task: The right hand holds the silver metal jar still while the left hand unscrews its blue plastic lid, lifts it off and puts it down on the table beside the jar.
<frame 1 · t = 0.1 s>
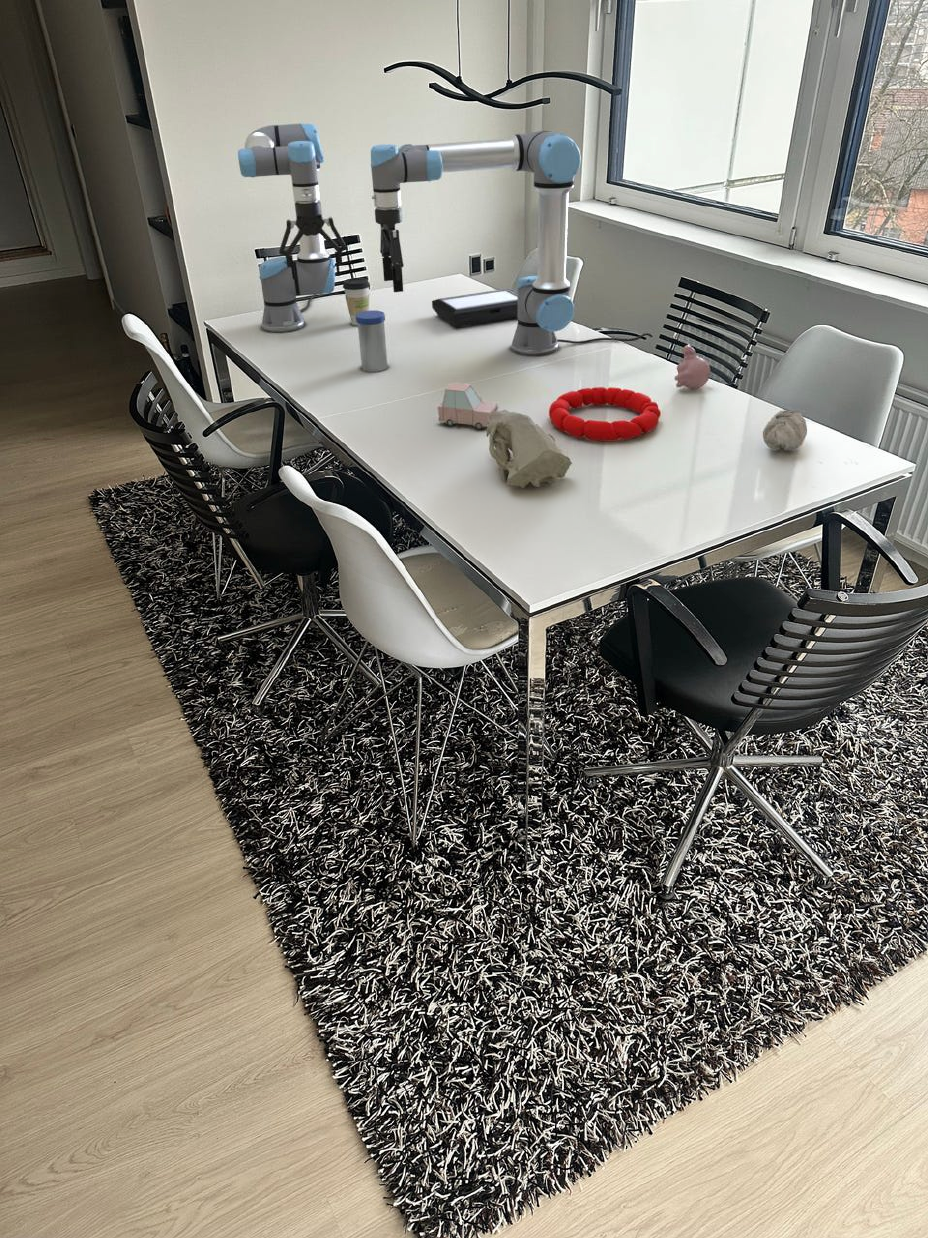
left hand: (316, 276, 273), 28 cm above the table, tool pointing down, fingers open, 13 cm apart
right hand: (393, 285, 261), 28 cm above the table, tool pointing down, fingers open, 13 cm apart
jar: (374, 367, 286), on the table
grey rock: (520, 470, 220), on the table
grey rounded lump: (783, 449, 226), on the table
coffee cup: (360, 323, 327), on the table
toy car: (468, 423, 246), on the table
electronic device: (482, 316, 330), on the table
decorative ring: (603, 422, 244), on the table
lid: (370, 315, 277), point 17 cm above the table, screwed on, not yet turned
figurine: (690, 388, 263), on the table
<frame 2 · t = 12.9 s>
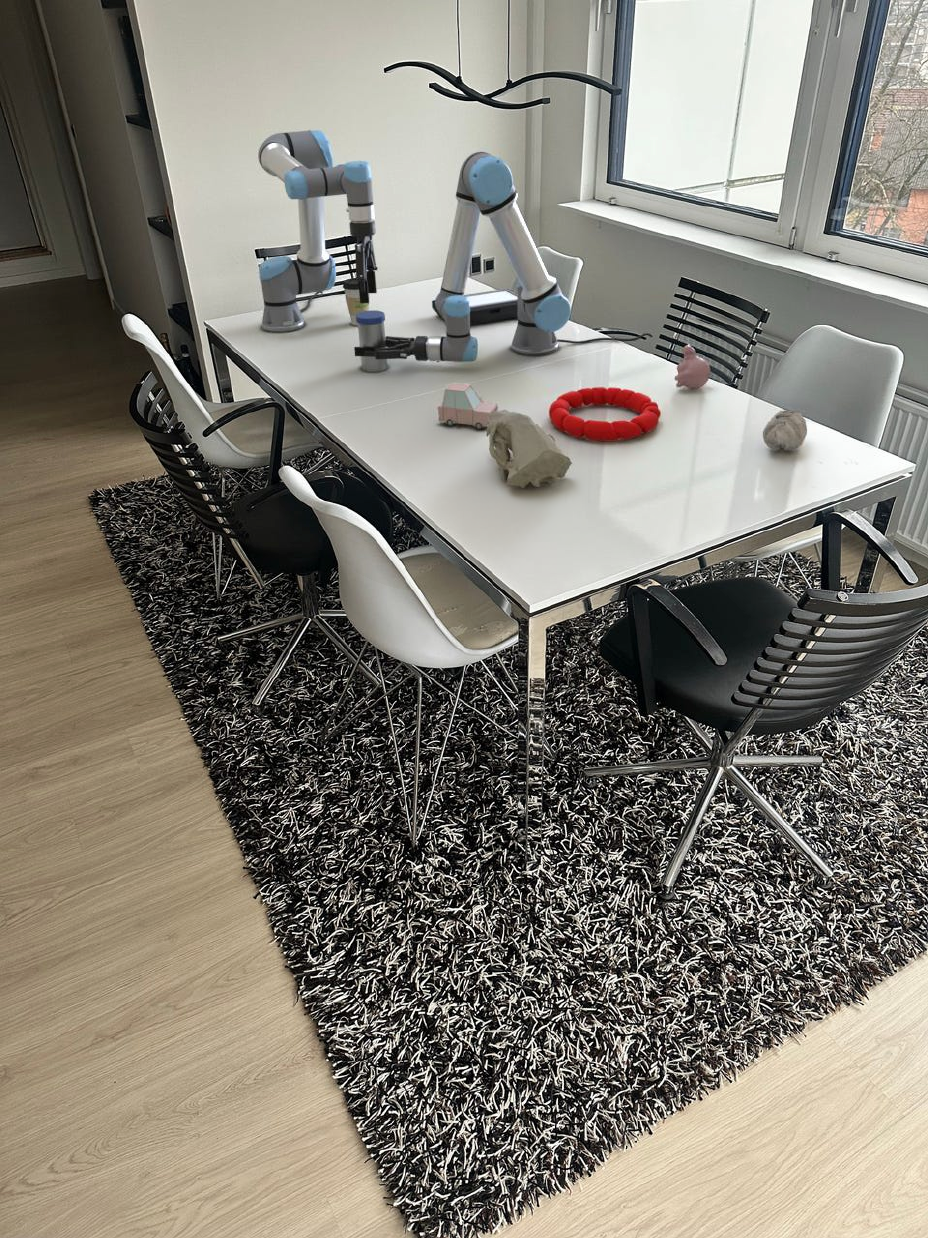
left hand: (368, 297, 274), 22 cm above the table, tool pointing down, fingers open, 11 cm apart
right hand: (358, 346, 283), 7 cm above the table, tool horizontal, fingers closed on jar, 8 cm apart
jar: (374, 367, 286), on the table, touching right hand
everything else where it was.
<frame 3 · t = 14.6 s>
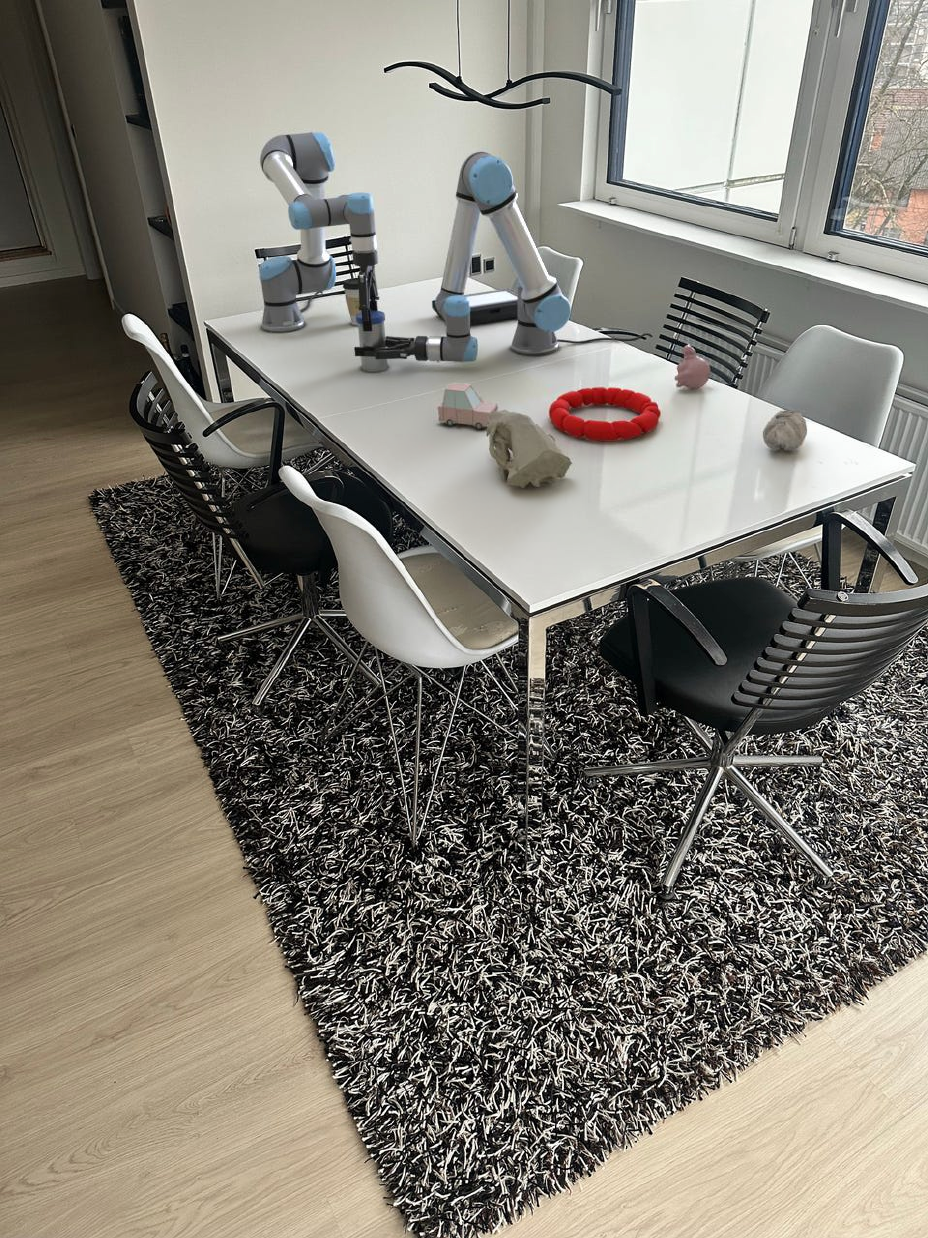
left hand: (371, 326, 279), 13 cm above the table, tool pointing down, fingers closed on lid, 9 cm apart
right hand: (358, 346, 283), 7 cm above the table, tool horizontal, fingers closed on jar, 8 cm apart
jar: (374, 367, 286), on the table, touching right hand
lid: (370, 315, 277), point 16 cm above the table, screwed on, not yet turned, touching left hand
everything else where it was.
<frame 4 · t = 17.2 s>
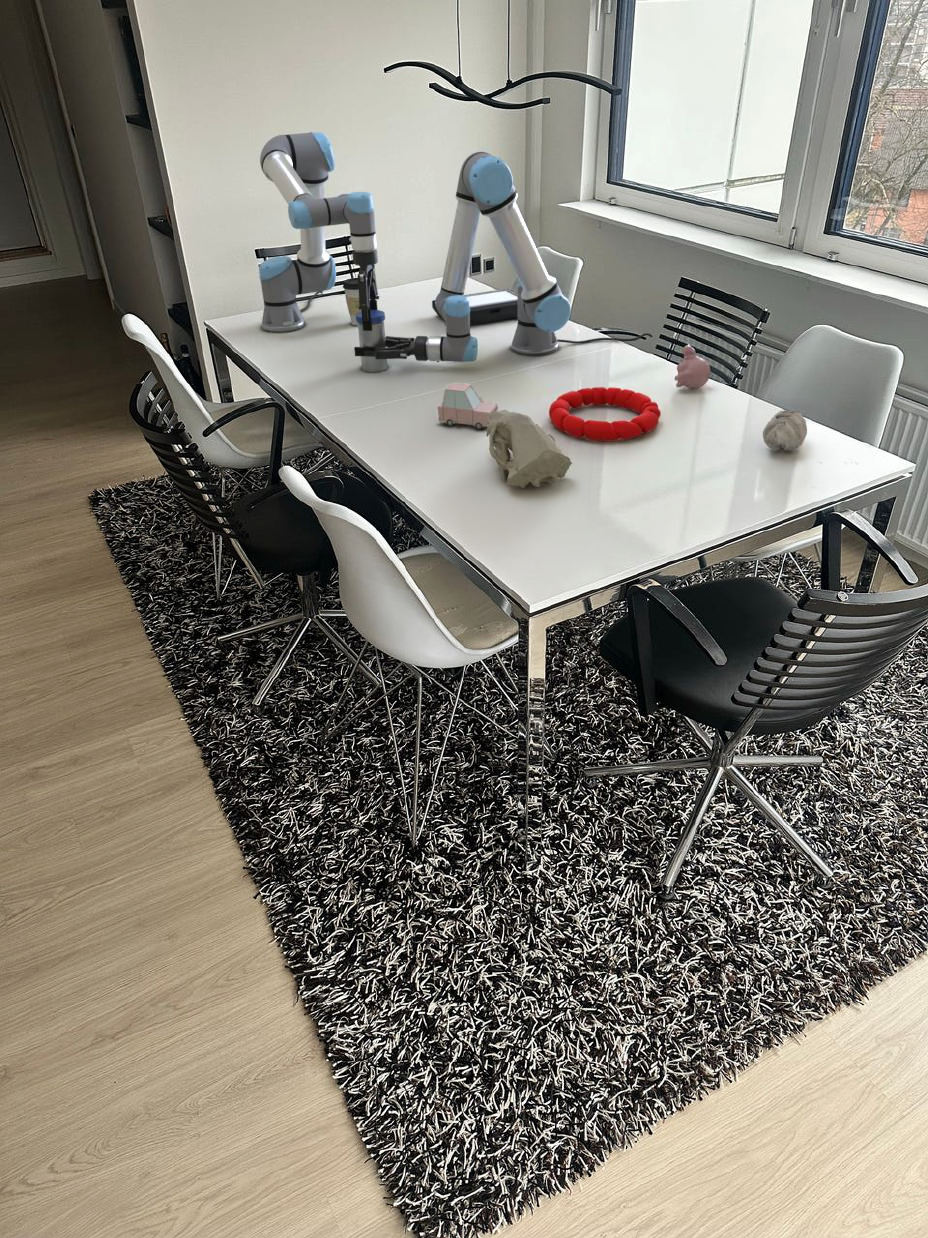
left hand: (371, 325, 279), 13 cm above the table, tool pointing down, fingers closed on lid, 9 cm apart
right hand: (358, 346, 283), 7 cm above the table, tool horizontal, fingers closed on jar, 8 cm apart
jar: (374, 367, 286), on the table, touching right hand
lid: (370, 314, 277), point 17 cm above the table, turned 65° so far, risen 0.2 cm, still on its thread, touching left hand
everything else where it was.
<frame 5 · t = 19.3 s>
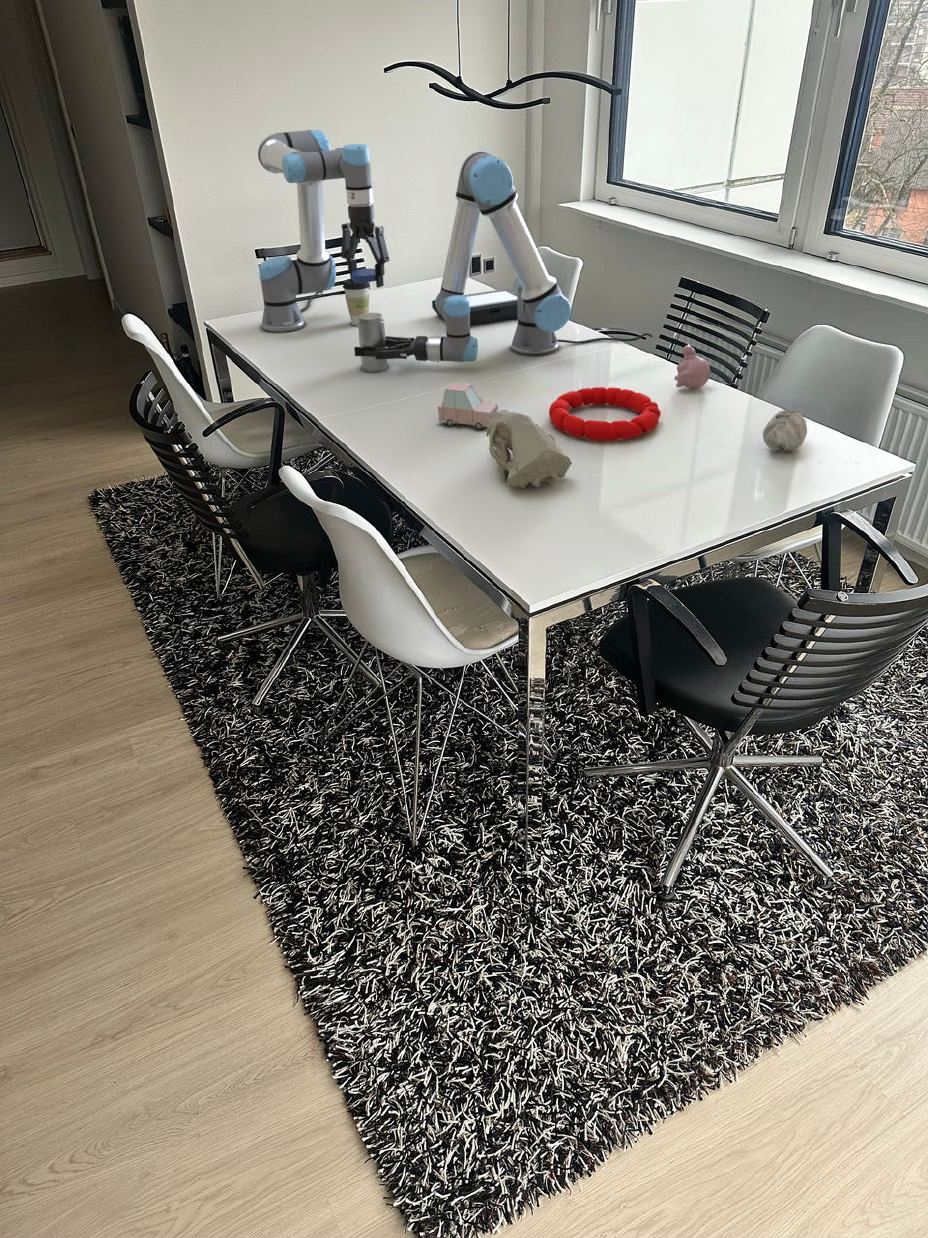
left hand: (367, 284, 272), 26 cm above the table, tool pointing down, fingers closed on lid, 9 cm apart
right hand: (358, 346, 283), 7 cm above the table, tool horizontal, fingers closed on jar, 8 cm apart
jar: (374, 367, 286), on the table, touching right hand
lid: (366, 273, 270), point 29 cm above the table, off its thread, touching left hand
everything else where it was.
when the left hand's fingers open (0 cm above the table, at t = 24.7 s): lid drops 2 cm, point 2 cm above the table.
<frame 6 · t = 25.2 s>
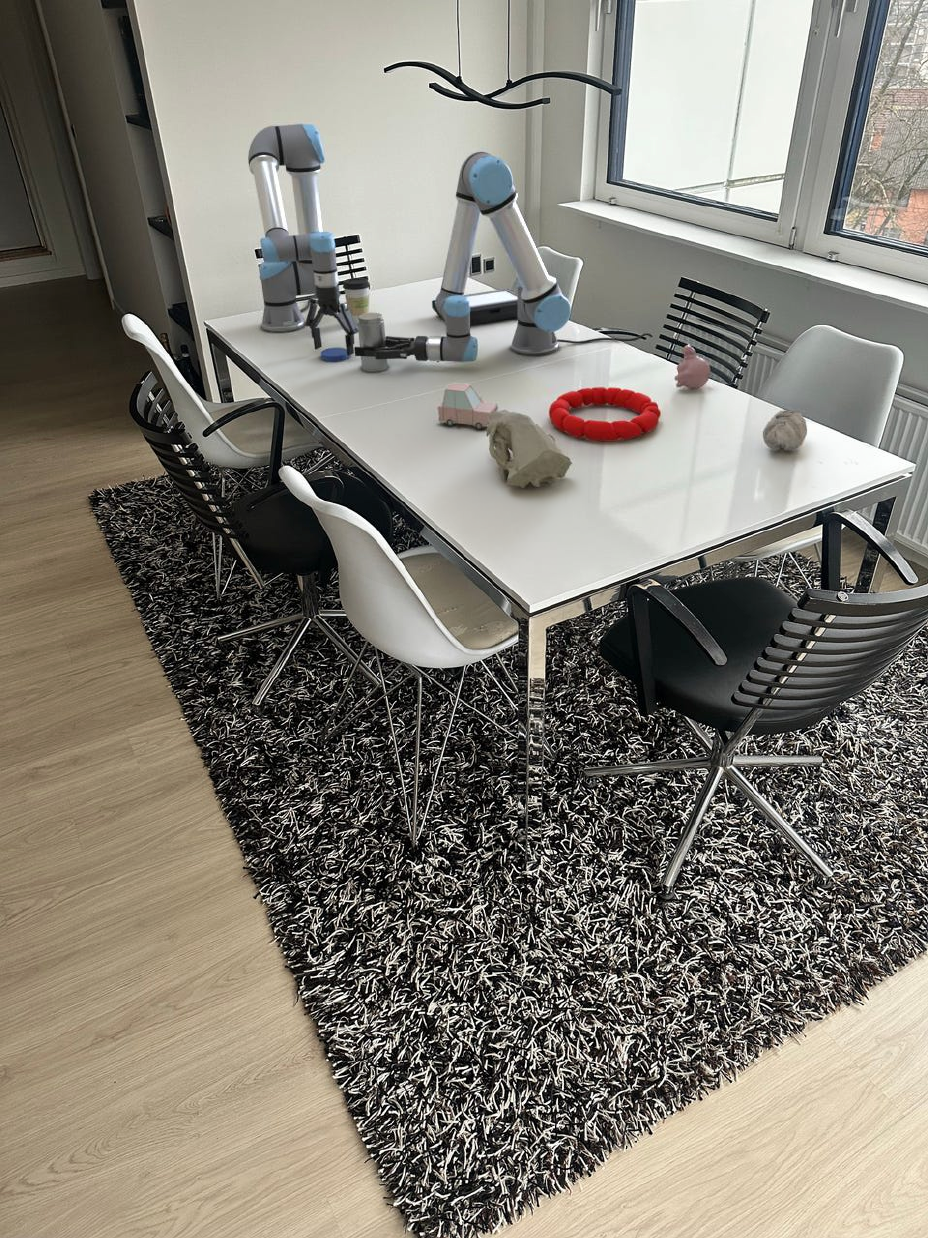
left hand: (334, 351, 296), 2 cm above the table, tool pointing down, fingers open, 13 cm apart
right hand: (358, 346, 283), 7 cm above the table, tool horizontal, fingers closed on jar, 8 cm apart
jar: (374, 367, 286), on the table, touching right hand
lid: (334, 352, 295), point 2 cm above the table, off its thread
everything else where it was.
when the right hand's fingers open (7 cm above the table, at t = 25.7 s): jar stays where it is, on the table.
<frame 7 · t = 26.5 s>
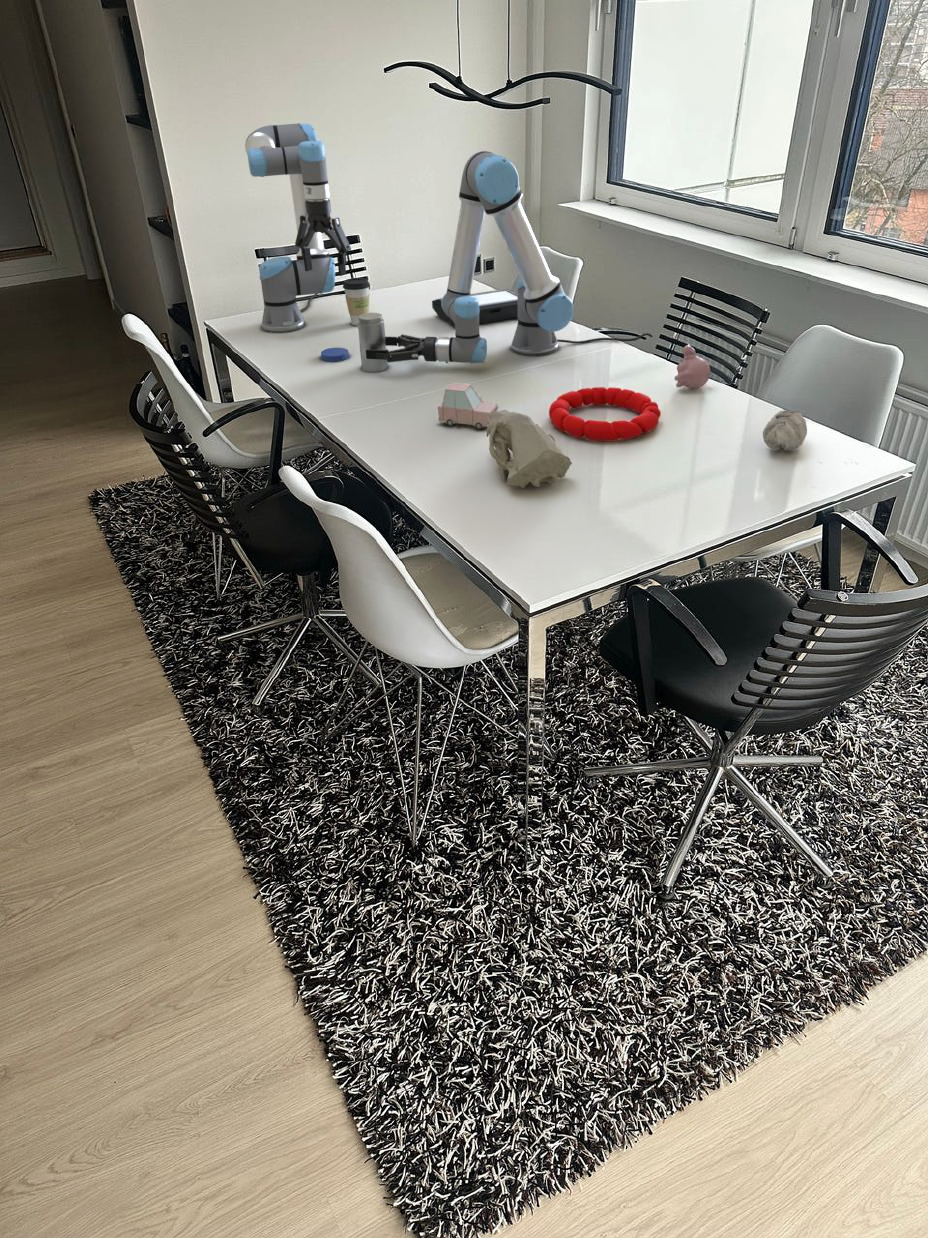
left hand: (325, 272, 281), 27 cm above the table, tool pointing down, fingers open, 13 cm apart
right hand: (371, 347, 283), 7 cm above the table, tool horizontal, fingers open, 13 cm apart
jar: (374, 367, 286), on the table
everything else where it was.
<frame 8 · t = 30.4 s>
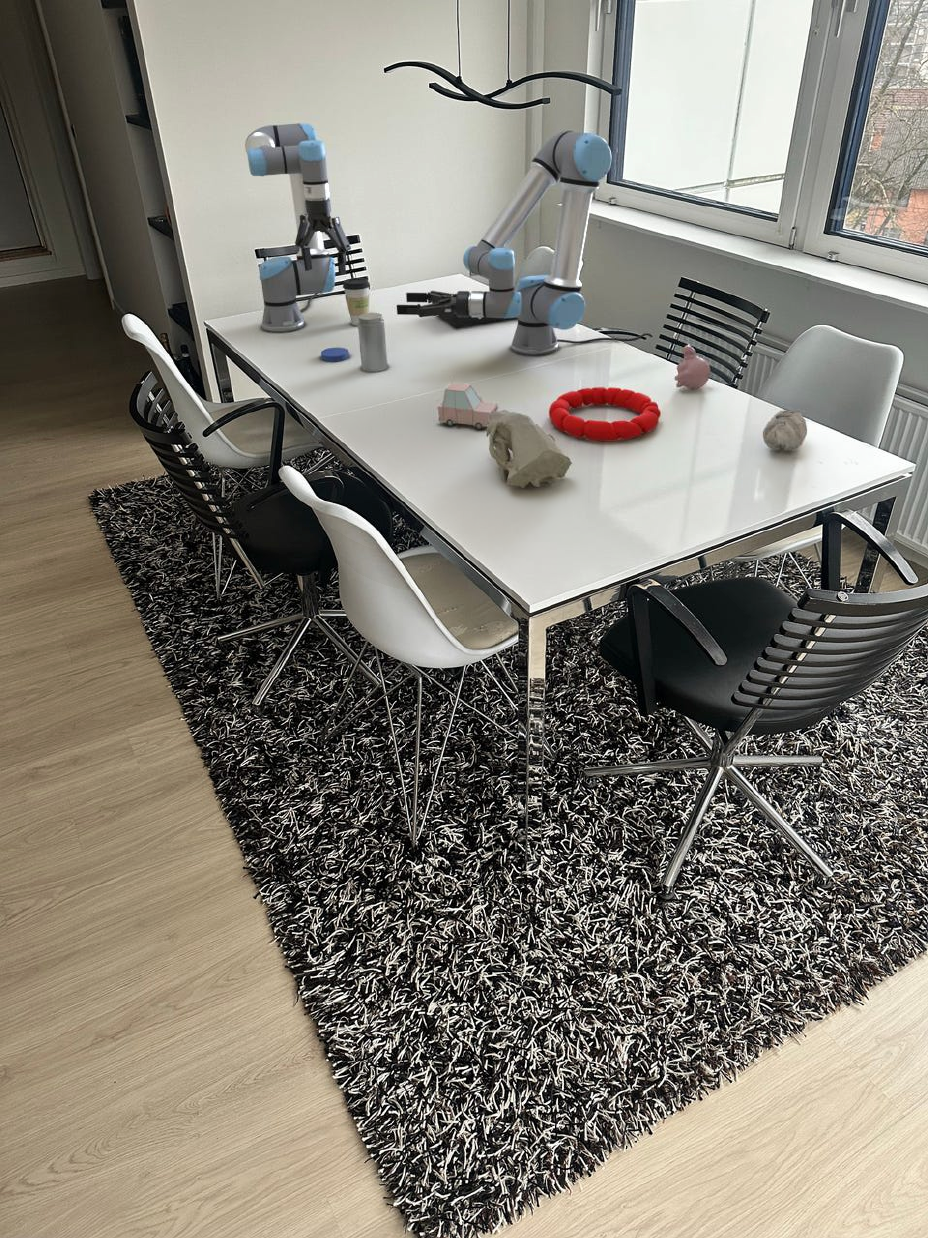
left hand: (325, 272, 281), 27 cm above the table, tool pointing down, fingers open, 13 cm apart
right hand: (401, 303, 273), 20 cm above the table, tool horizontal, fingers open, 13 cm apart
nothing on the table moved.
at the end: lid came off its thread; lid point 1.5 cm above the table; the left hand is holding nothing; the right hand is holding nothing; jar tilted 0°; jar moved 0.0 cm from its start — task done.
